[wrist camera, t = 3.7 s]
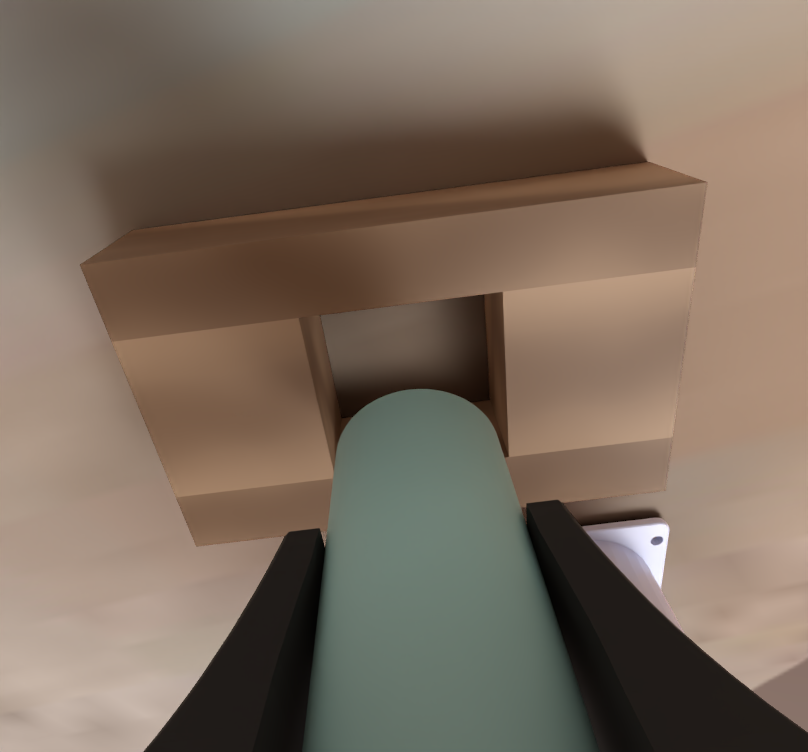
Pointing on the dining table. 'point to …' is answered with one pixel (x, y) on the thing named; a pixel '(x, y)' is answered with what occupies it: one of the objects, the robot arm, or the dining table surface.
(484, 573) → the peg
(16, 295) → the dining table surface
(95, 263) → the socket
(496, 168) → the dining table surface
